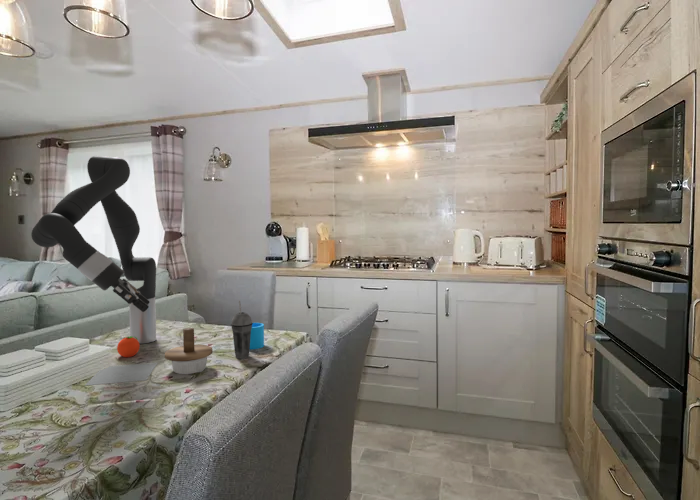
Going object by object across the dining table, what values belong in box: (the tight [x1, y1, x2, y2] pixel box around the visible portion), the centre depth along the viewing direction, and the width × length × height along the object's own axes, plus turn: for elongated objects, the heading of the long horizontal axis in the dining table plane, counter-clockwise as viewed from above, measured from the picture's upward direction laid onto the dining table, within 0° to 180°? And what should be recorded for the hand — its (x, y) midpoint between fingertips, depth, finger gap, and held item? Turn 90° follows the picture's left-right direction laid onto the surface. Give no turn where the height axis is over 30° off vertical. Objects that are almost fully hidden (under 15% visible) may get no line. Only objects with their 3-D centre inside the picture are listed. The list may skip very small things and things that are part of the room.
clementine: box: [116, 336, 141, 358], centre depth 142 cm, size 8×7×7 cm
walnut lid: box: [164, 327, 213, 362], centre depth 128 cm, size 14×14×8 cm
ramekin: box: [171, 356, 209, 375], centre depth 129 cm, size 11×11×5 cm
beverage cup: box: [230, 299, 254, 360], centre depth 142 cm, size 7×7×20 cm
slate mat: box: [84, 362, 158, 387], centre depth 125 cm, size 16×16×1 cm
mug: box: [250, 322, 265, 350], centre depth 156 cm, size 12×8×8 cm
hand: (147, 306), depth 122 cm, fingers open, 8 cm apart
